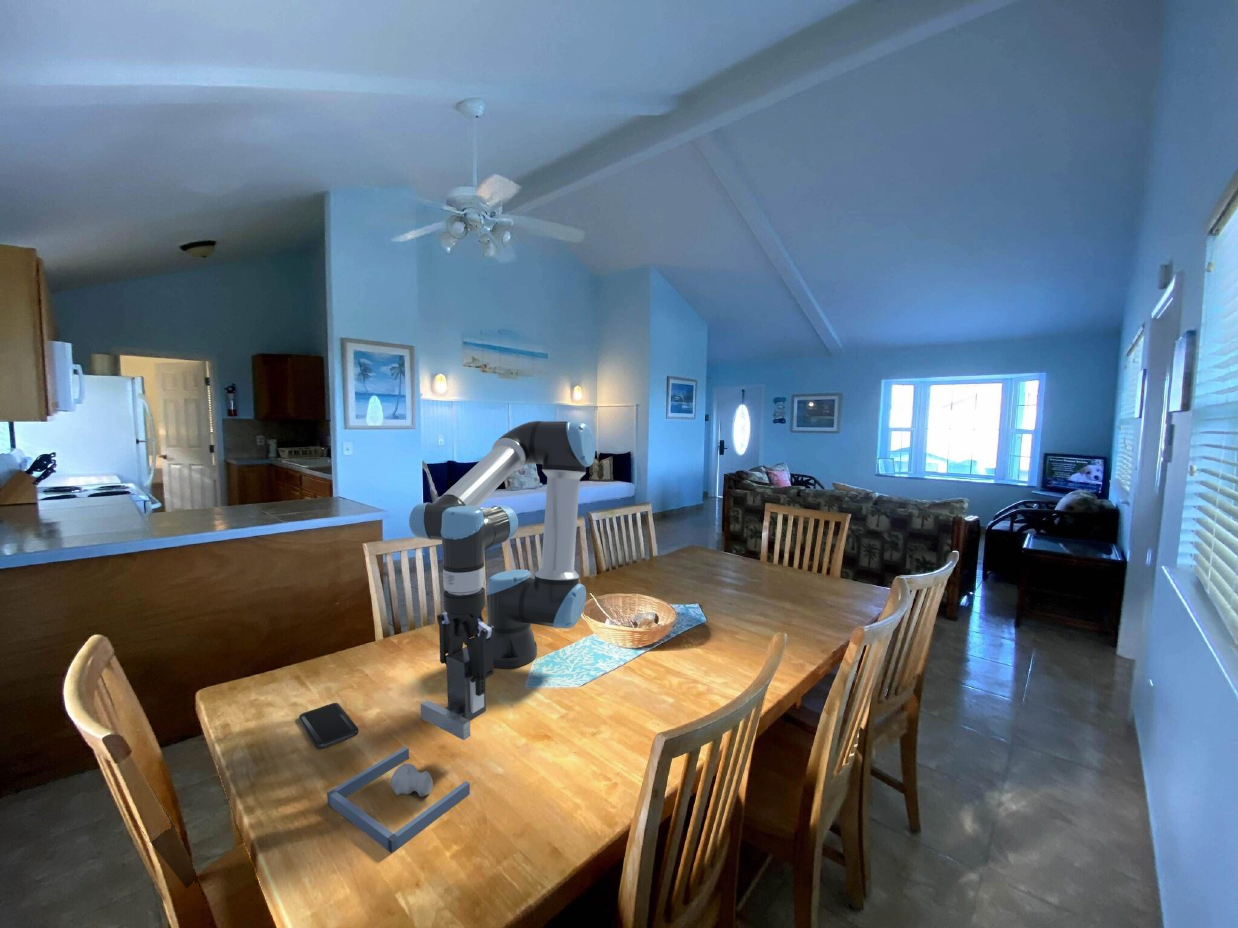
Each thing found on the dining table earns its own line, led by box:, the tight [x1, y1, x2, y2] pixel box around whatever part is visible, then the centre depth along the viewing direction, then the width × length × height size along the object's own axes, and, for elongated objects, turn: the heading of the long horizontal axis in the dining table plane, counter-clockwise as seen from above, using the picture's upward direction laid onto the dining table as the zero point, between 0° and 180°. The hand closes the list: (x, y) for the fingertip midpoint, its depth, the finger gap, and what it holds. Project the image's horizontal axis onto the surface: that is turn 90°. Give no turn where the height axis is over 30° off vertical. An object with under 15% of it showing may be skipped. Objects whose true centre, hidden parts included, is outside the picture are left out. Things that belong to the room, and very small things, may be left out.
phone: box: [298, 702, 359, 750], centre depth 110 cm, size 8×1×15 cm
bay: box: [326, 746, 471, 854], centre depth 90 cm, size 15×18×2 cm
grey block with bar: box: [420, 645, 487, 741], centre depth 100 cm, size 8×12×12 cm
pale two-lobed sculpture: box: [390, 763, 434, 798], centre depth 92 cm, size 4×8×5 cm
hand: (467, 704), depth 102 cm, fingers closed on grey block with bar, 5 cm apart
